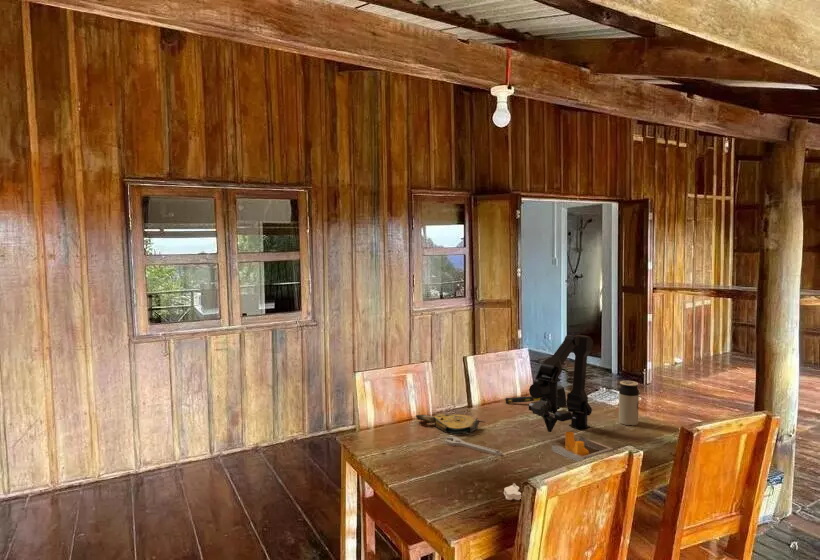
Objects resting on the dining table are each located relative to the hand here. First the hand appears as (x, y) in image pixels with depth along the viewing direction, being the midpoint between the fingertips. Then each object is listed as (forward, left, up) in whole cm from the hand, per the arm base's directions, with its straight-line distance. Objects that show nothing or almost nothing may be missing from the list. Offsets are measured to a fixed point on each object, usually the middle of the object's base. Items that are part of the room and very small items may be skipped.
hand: (549, 431), depth 218 cm
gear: (+45, +28, -4) cm, 53 cm away
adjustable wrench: (+32, -10, -4) cm, 34 cm away
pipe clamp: (+2, +16, -4) cm, 16 cm away
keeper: (0, +16, -3) cm, 16 cm away
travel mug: (-44, +4, -4) cm, 44 cm away
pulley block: (+26, -35, -4) cm, 43 cm away
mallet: (-29, -38, -4) cm, 48 cm away
